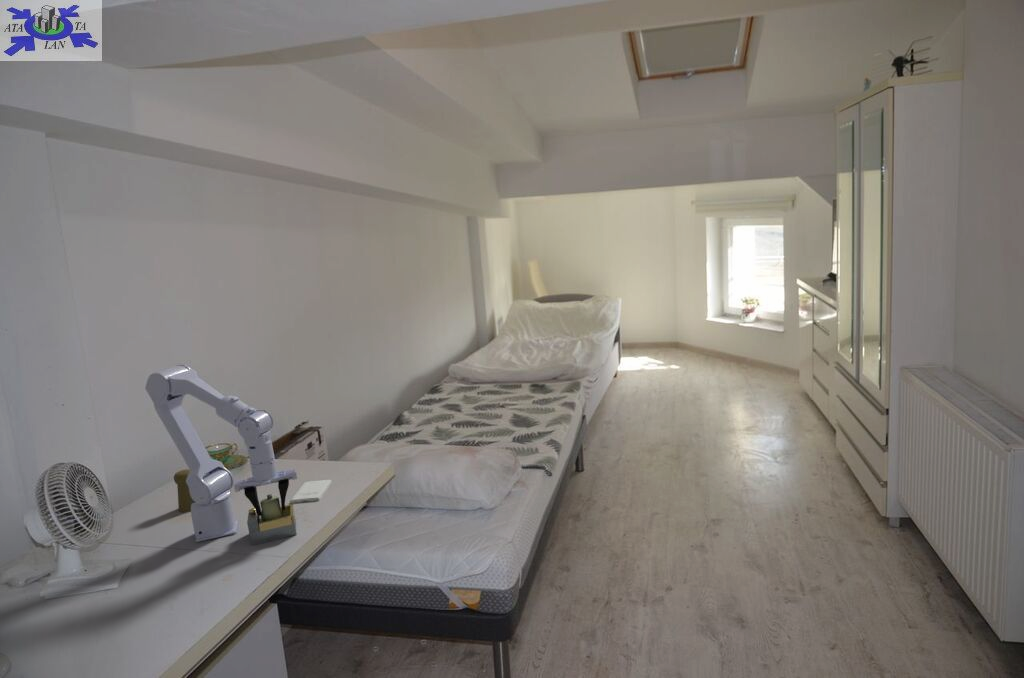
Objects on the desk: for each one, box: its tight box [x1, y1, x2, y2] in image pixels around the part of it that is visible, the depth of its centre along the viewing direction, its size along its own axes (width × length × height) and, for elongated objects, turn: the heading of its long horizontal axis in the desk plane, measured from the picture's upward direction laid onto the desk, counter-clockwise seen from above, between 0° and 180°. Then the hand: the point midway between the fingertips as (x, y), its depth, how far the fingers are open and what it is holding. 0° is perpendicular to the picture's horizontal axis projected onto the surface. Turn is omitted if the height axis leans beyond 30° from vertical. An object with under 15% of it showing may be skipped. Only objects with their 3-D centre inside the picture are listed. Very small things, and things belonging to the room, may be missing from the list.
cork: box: [173, 468, 196, 513], centre depth 185 cm, size 6×6×11 cm
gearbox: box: [246, 503, 297, 546], centre depth 163 cm, size 10×8×7 cm
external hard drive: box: [289, 479, 333, 504], centre depth 188 cm, size 2×8×12 cm
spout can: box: [259, 493, 282, 521], centre depth 163 cm, size 4×4×6 cm
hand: (271, 511), depth 163 cm, fingers open, 5 cm apart
